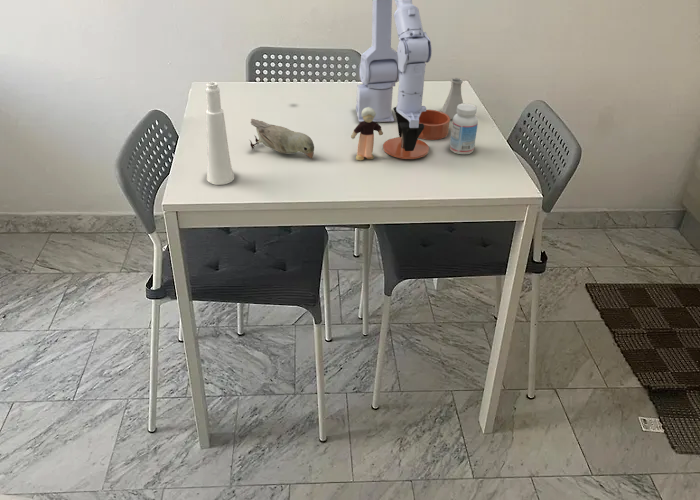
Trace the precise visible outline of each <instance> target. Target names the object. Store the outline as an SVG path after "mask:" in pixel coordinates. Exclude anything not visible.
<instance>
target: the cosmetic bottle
mask: <svg viewBox="0 0 700 500" xmlns="http://www.w3.org/2000/svg"><path fill="white" fill-rule="evenodd" d="M220 92H221V91H220V88H219V84H218V82H216V81H209V82H207V83H206V88H205V96H206V97H205V98H206V106H207V107H206V108H207V109H206V110H205V126H206V147H207V172H206V181H207V182H208V183H209V184H212V185H215V186H223V185H228V184H230V183H232V182H233V181H234V180H235V174H234V170H233V167H232V161H231V156H230V151H229V142H228V136H227V135H228V133H227V127H226V120H225V114H224V113H225V112H224V109H223V108H222V103H221V93H220Z"/></svg>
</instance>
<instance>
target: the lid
mask: <svg viewBox="0 0 700 500" xmlns="http://www.w3.org/2000/svg"><path fill="white" fill-rule="evenodd" d="M382 149H383V152H385V153H386V154H387V155H389V156H391V157H394V158H396V159H402V160H414V159H420V158H423V157H425V156H427V155H428V153H429V151H430V147H429V145H428V143H426V142H425V141H423V140H422V139H420V138H418V139H417V142H416V145H415V148H414V150H413V151H405V149H404V142H403V133H402V137H399V136H398V137H392V138H389V139H387V140H385V141H384V142H383V145H382Z"/></svg>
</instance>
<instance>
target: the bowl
mask: <svg viewBox="0 0 700 500" xmlns="http://www.w3.org/2000/svg"><path fill="white" fill-rule="evenodd" d="M419 124H424V130H423V131H422V132H421V133H420V135H419V137H418V139H420V140H426V141H429V140H430V141H436V140H442V139H445V138H447V136H448V135H449V131H450V124H451V119H450V117H449V116H448V115H447V114H445V113H443V112H441V110H435V109H426V112H422V113H421V115H420V118H419Z"/></svg>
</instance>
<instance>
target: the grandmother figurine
mask: <svg viewBox="0 0 700 500" xmlns="http://www.w3.org/2000/svg"><path fill="white" fill-rule="evenodd" d="M361 114H362V117H363V120H364V121H363V122H359V123H358V124H357V125H356V127H355V128H354V129H353V132H352V134H351V135H350V138H351V139H352V140H354V139H356V137H357V135H358V134H359V137H358V143H357V149H356V156H355V160H356V161H364V160H365V159H366V160H373V159H375V156H374V155H373V153H374V152H373V151H374V144H375V143H374V141H375V132H377V133H378V135H379V136H383V134H384V132H383V130H382V126H381V125H380V124H379V122H373V119H374V117H375V115H376V113H375V111H374V110H373V109H372V108H370V107H367V108H364V109H363V110H362V112H361ZM374 131H375V132H374Z"/></svg>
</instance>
